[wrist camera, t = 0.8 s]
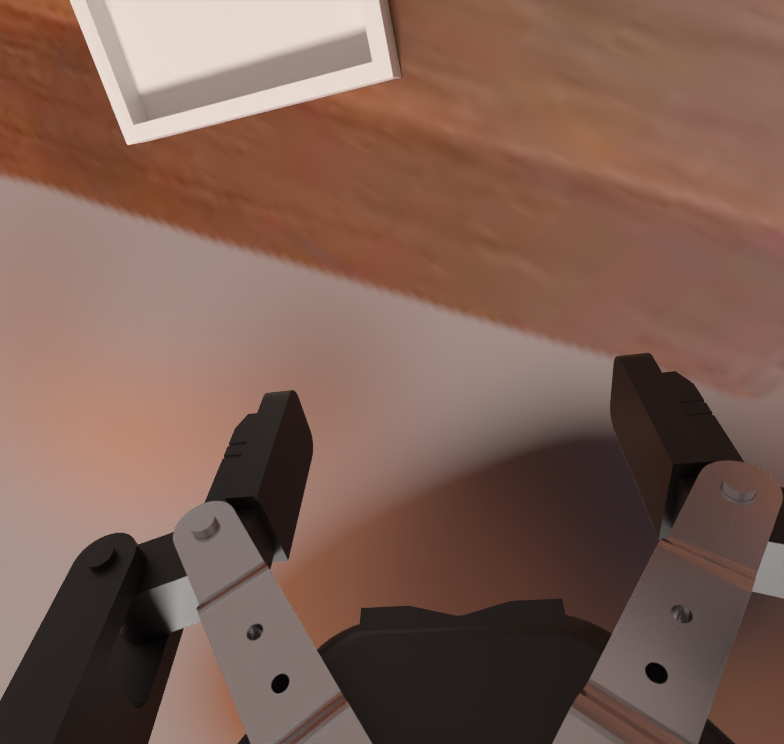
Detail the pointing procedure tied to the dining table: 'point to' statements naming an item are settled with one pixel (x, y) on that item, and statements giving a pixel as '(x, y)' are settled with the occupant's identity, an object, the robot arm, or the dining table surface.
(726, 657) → the robot arm
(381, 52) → the tray
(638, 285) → the dining table surface
